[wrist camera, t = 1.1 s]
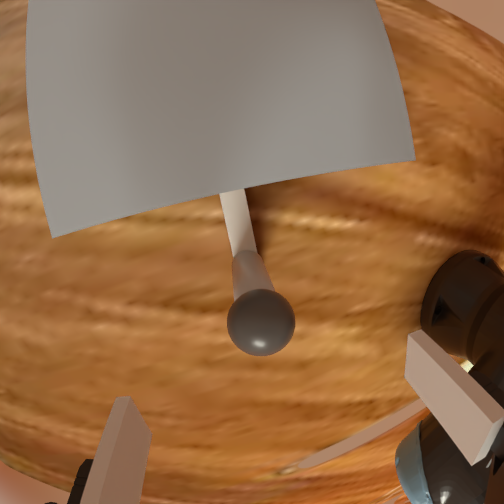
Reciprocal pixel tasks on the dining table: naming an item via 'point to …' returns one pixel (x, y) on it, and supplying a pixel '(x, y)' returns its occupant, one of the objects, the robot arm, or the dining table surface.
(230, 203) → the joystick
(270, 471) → the dining table surface
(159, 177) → the tunnel
